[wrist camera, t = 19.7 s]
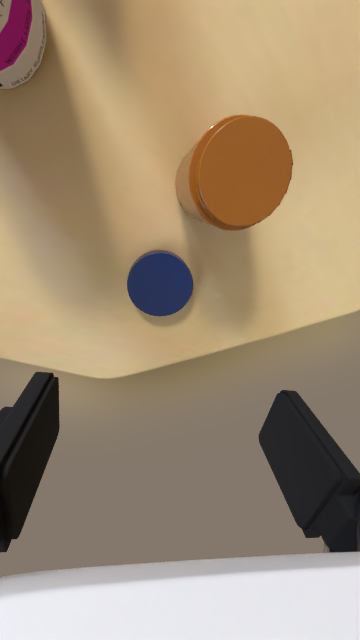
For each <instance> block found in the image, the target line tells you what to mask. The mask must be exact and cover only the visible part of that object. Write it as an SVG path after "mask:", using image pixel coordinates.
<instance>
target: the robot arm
mask: <svg viewBox="0 0 360 640" xmlns="http://www.w3.org/2000/svg"><path fill="white" fill-rule="evenodd" d="M58 384H59V383H58V377H54V375H53V373H46V372H36V373H35V374H34V376H33V377H32V379H31V380H30V382H29V383H28V385H27V386H26V388H25V389H24V391H23V392H22V394H21V395H20V397H19V398H18V400H17V402H16V403H15V404H14V406H13V407H4V408H2V410H1V411H0V552H6V551H7V550H8V547H9V545H10V542H11V539H17V538H18V537H19V535H20V533H21V530H22V527H23V525H24V522H25V520H26V517H27V515H28V512H29V509H30V507H31V504H32V501H33V499H34V496H35V494H36V491H37V488H38V486H39V483H40V480H41V478H42V475H43V473H44V470H45V467H46V465H47V462H48V460H49V457H50V454H51V452H52V449H53V447H54V444H55V442H56V439H57V436H58V432H59V385H58ZM259 442H260V445H261V447H262V449H263V451H264V454H265V456H266V458H267V460H268V462H269V464H270V467H271V469H272V471H273V473H274V475H275V478H276V480H277V482H278V484H279V486H280V489H281V491H282V493H283V495H284V497H285V499H286V502H287V504H288V506H289V508H290V510H291V512H292V515H293V517H294V519H295V521H296V523H297V525H298V526H299V527H300V528H302V530H303V532H304V535H305V537H306V538H317V537H320V535H321V536H322V538H323V540H324V553H312V554H293V555H274V556H256V557H240V558H223V559H206V560H189V561H173V562H157V563H143V564H128V565H112V566H97V567H85V568H74V569H61V570H50V571H39V572H31V573H24V574H17V575H10V576H5V577H0V640H360V473H359V472H358V471H357V469H356V468H355V467H354V465H353V464H352V463H351V461H350V460H349V459H348V458H347V456H346V455H345V454H344V453H343V451H342V450H341V449H340V447H339V446H338V445H337V443H336V442H335V441H334V440H333V438H332V437H331V436H330V434H329V433H328V432H327V431H326V429H325V428H324V427H323V425H322V424H321V423H320V421H319V420H318V419H317V418H316V416H315V415H314V414H313V412H312V411H311V410H310V408H309V407H308V406H307V404H306V403H305V402H304V401H303V399H302V398H301V397H300V395H299V394H298V393H297V392H296V391H287V390H282V391H281V392H280V393H278V394H277V396H276V398H275V400H274V402H273V405H272V407H271V409H270V411H269V413H268V416H267V418H266V420H265V422H264V425H263V427H262V429H261V431H260V433H259Z"/></svg>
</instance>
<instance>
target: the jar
mask: <svg viewBox="0 0 360 640" xmlns="http://www.w3.org/2000/svg"><path fill="white" fill-rule="evenodd" d="M292 165H293V160H292V153H291V150H290V149H289V146H288V143H287V141H286V139H285V137H284V135H283V134H282V132H281V131H280V130H279V129H278V128H277V127H276V126H275V125H274V124H273V123H271V122H270V121H268V120H266V119H263V118H261V117H256V116H249V115H234V116H230V117H227V118H224V119H222V120H220V121H218V122H217V123H216V124H214V125H213V126H212V127H210V128H209V129H208V130H207V131H206V132H205V134H204V135H203V136H202V137H201V138H200V139H199V141H198V142H197V143H196V144H195V145H194V146H193V148H192V149H191V150H190V151H189V152H188V153H187V155H186V156H185V157H184V158H183V160H182V161H181V163H180V165H179V168H178V170H177V174H176V181H175V188H176V194H177V198H178V200H179V203H180V204H181V206H182V208H183V209H184V210H185V211H186V212H187V213H188V214H189V215H190V216H192V217H193V218H195V219H198V220H200V221H202V222H205V223H207V224H210V225H212V226H215V227H217V228H220V229H224V230H242V229H245V228H248V227H250V226H253V225H255V224H256V223H259V222H261V221H262V220H263V219H265V218H266V217H267V216H270V214H271V213H272V212H273V211H274V210H275V209H276V208H277V206H279V204H280V203H281V201H282V199H283V197H284V195H285V194H286V192H287V189H288V186H289V182H290V180H291V175H292Z"/></svg>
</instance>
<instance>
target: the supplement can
mask: <svg viewBox="0 0 360 640" xmlns="http://www.w3.org/2000/svg"><path fill="white" fill-rule="evenodd" d="M45 44H46V24H45V11H44V7H43V4H42V1H41V0H0V89H12V88H14V87H16V86H18V85H20V84H22V83H24V82H26V81H28V80H29V79H30V78H31V76H32V75H33V74H34V72H35V71H36V69H37V68H38V67H39V65H40V64H41V61H42V57H43V52H44V48H45Z"/></svg>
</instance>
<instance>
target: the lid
mask: <svg viewBox="0 0 360 640" xmlns="http://www.w3.org/2000/svg"><path fill="white" fill-rule="evenodd" d="M127 289H128V293H129V296H130V298H131V300H132V302H133V303H134V304H135V306H136V307H137V308H139V309H140V310H141V311H143V312H145V313H147V314H150V315H154V316H167V315H170V314H173V313H175V312H177V311H179V310H180V309H181V308H183V307H184V306H185V305H186V303H187V302H188V300H189V299H190V296H191V294H192V290H193V279H192V275H191V273H190V270H189V269H188V267H187V265H186V264H185V262H184V261H183V260H182V259H181V258H180V257H178V256H177V255H175V254H174V253H171V252H168V251H163V250H156V251H151V252H148V253H146V254H144V255H142V256H140V257H139V258H138V259H137V260H136V261H135V262H134V264H133V265H132V267H131V269H130V272H129V276H128V281H127Z"/></svg>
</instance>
